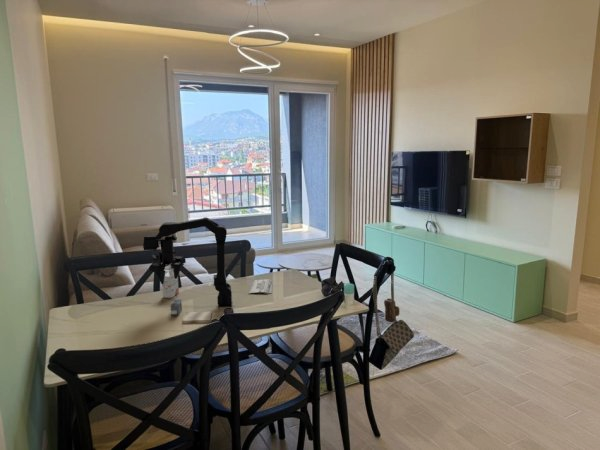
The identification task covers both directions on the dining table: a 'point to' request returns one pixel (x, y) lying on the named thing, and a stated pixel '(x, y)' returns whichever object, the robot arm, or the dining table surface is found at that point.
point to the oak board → (197, 317)
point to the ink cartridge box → (170, 285)
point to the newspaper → (261, 286)
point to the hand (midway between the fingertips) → (169, 281)
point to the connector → (176, 307)
